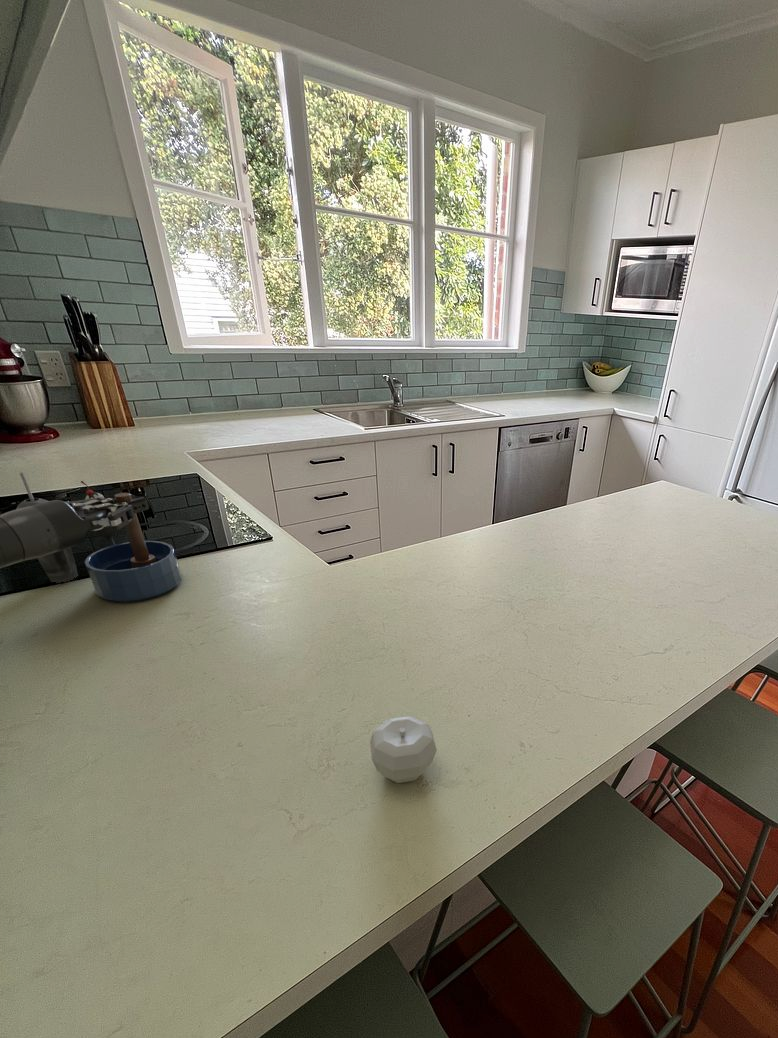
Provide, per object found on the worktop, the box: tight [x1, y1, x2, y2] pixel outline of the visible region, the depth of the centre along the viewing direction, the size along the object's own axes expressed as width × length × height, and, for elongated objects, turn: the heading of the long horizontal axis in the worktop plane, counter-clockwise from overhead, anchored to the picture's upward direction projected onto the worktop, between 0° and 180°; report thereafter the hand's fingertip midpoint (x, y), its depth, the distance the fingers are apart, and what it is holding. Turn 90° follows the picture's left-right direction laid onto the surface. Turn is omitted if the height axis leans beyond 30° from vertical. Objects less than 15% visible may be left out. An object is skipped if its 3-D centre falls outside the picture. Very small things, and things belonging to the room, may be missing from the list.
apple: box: [369, 715, 438, 784], centre depth 63 cm, size 8×8×7 cm
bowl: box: [84, 540, 183, 603], centre depth 101 cm, size 14×14×6 cm
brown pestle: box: [114, 492, 156, 568], centre depth 99 cm, size 4×4×15 cm
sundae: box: [80, 480, 117, 547], centre depth 112 cm, size 7×7×15 cm
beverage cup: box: [15, 471, 79, 584], centre depth 100 cm, size 7×7×20 cm
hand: (140, 501), depth 98 cm, fingers closed on brown pestle, 2 cm apart
